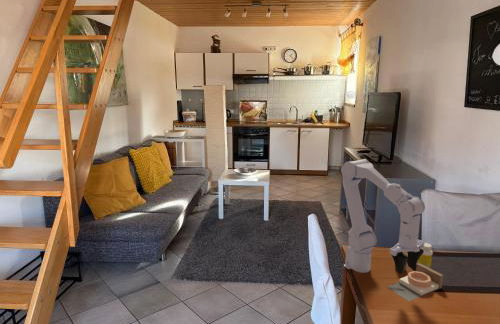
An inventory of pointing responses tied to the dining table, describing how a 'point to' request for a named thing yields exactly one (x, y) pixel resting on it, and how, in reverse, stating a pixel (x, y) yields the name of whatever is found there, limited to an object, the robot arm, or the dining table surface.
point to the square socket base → (419, 282)
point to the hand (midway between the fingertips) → (405, 269)
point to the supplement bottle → (426, 256)
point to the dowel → (404, 265)
